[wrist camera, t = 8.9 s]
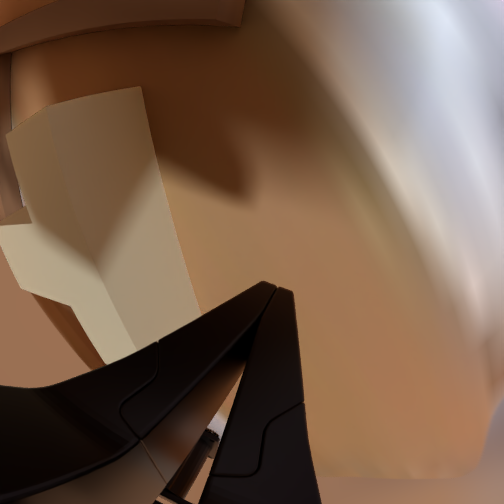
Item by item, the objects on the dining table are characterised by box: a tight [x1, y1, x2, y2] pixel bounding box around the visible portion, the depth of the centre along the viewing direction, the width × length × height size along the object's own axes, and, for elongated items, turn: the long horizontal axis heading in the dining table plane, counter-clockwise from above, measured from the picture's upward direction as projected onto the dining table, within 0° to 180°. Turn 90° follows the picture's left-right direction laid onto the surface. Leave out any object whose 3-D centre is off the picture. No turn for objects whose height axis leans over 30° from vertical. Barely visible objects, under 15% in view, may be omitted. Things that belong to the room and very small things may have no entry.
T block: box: [0, 86, 202, 365], centre depth 11 cm, size 10×8×4 cm
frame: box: [0, 0, 246, 307], centre depth 12 cm, size 16×16×2 cm
